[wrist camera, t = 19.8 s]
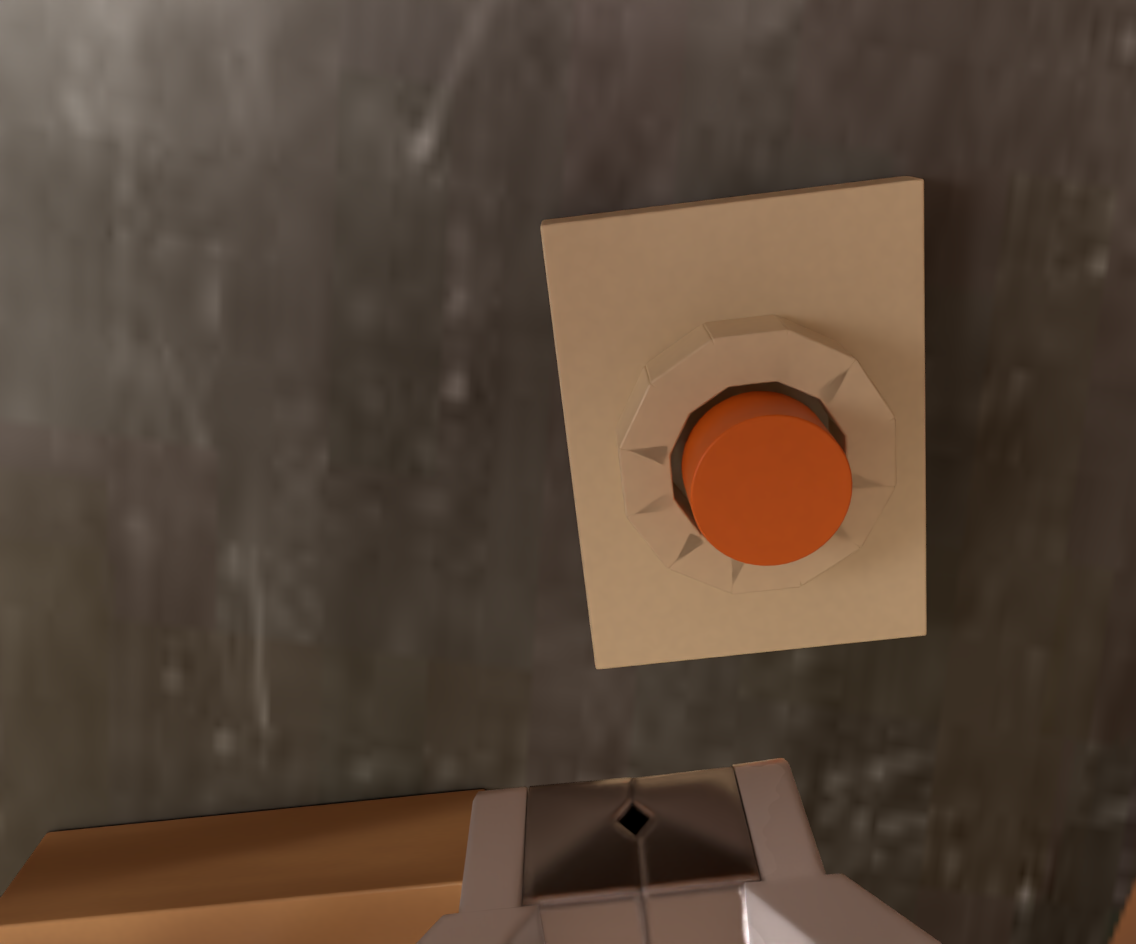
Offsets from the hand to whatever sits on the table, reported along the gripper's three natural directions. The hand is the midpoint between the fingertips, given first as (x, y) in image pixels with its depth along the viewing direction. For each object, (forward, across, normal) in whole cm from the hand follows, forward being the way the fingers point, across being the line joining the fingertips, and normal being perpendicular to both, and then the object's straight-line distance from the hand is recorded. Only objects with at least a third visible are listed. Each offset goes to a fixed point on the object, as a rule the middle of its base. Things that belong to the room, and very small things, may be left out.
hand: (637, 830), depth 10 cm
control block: (+18, -4, +2) cm, 18 cm away
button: (+15, -4, +2) cm, 16 cm away
